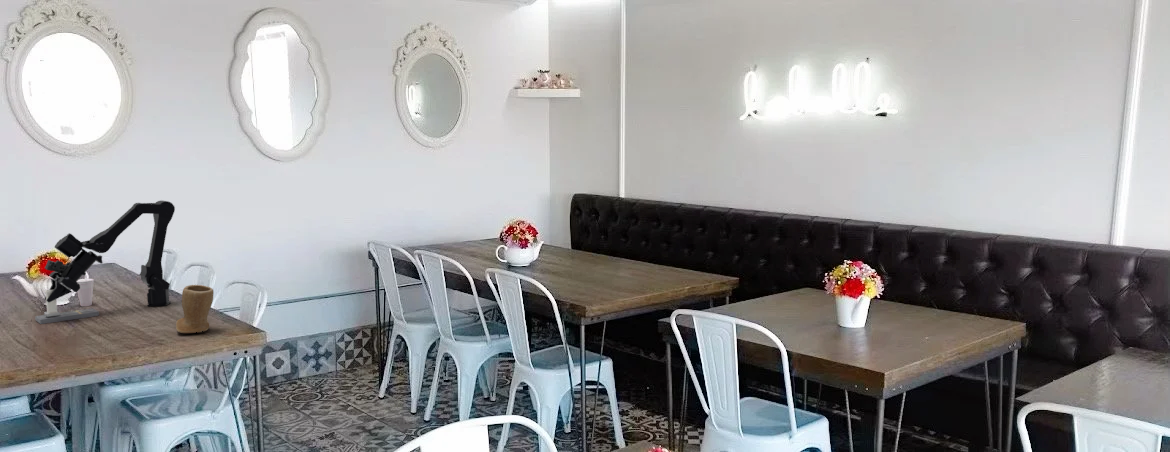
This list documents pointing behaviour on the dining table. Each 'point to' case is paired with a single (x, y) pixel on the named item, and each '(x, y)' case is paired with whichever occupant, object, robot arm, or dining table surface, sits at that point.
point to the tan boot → (195, 309)
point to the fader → (51, 306)
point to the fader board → (67, 316)
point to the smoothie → (85, 291)
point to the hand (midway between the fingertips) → (46, 300)
